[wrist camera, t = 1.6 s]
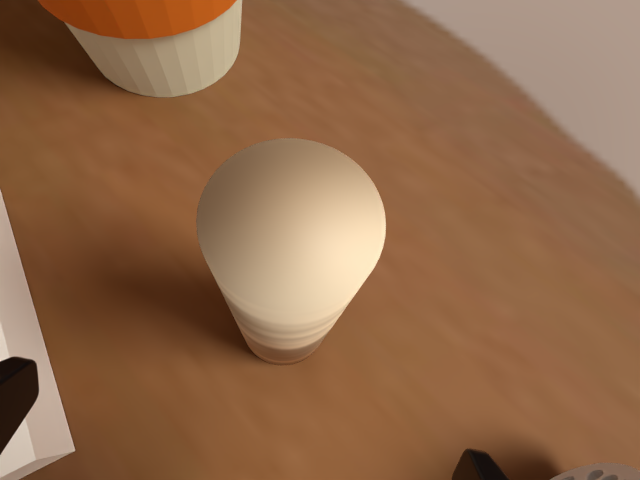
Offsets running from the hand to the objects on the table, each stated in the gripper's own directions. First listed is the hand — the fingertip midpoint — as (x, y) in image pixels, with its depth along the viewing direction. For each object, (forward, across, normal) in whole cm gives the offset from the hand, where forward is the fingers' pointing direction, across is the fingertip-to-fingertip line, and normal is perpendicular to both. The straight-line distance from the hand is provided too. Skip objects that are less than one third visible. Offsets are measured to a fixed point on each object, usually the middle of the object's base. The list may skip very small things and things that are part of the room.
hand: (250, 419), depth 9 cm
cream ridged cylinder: (+10, 0, +5) cm, 11 cm away
